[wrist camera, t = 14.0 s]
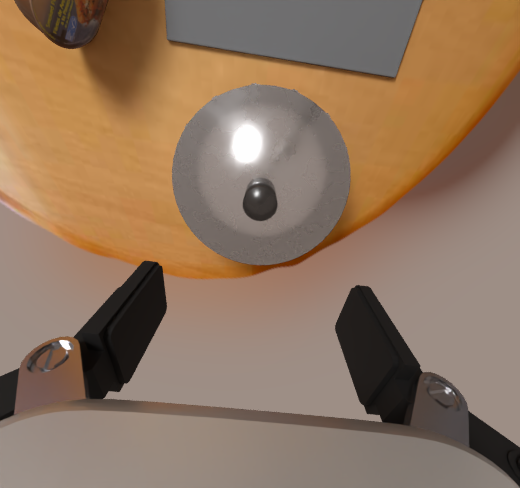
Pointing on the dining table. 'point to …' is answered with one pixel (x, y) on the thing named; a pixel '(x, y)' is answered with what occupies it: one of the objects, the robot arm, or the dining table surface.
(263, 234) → the lidded metal pot
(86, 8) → the tin
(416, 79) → the dining table surface
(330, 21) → the rubber mat
